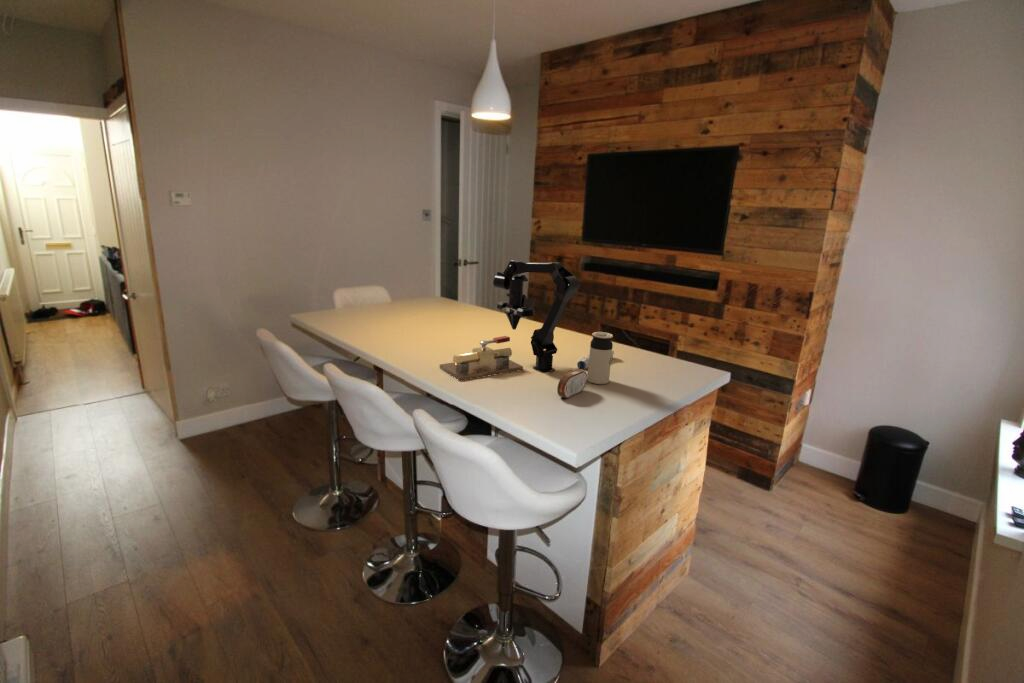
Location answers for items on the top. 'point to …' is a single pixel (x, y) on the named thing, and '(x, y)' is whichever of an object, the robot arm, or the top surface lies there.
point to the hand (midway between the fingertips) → (514, 329)
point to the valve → (481, 363)
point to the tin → (572, 383)
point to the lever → (496, 340)
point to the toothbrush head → (587, 362)
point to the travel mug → (600, 358)
